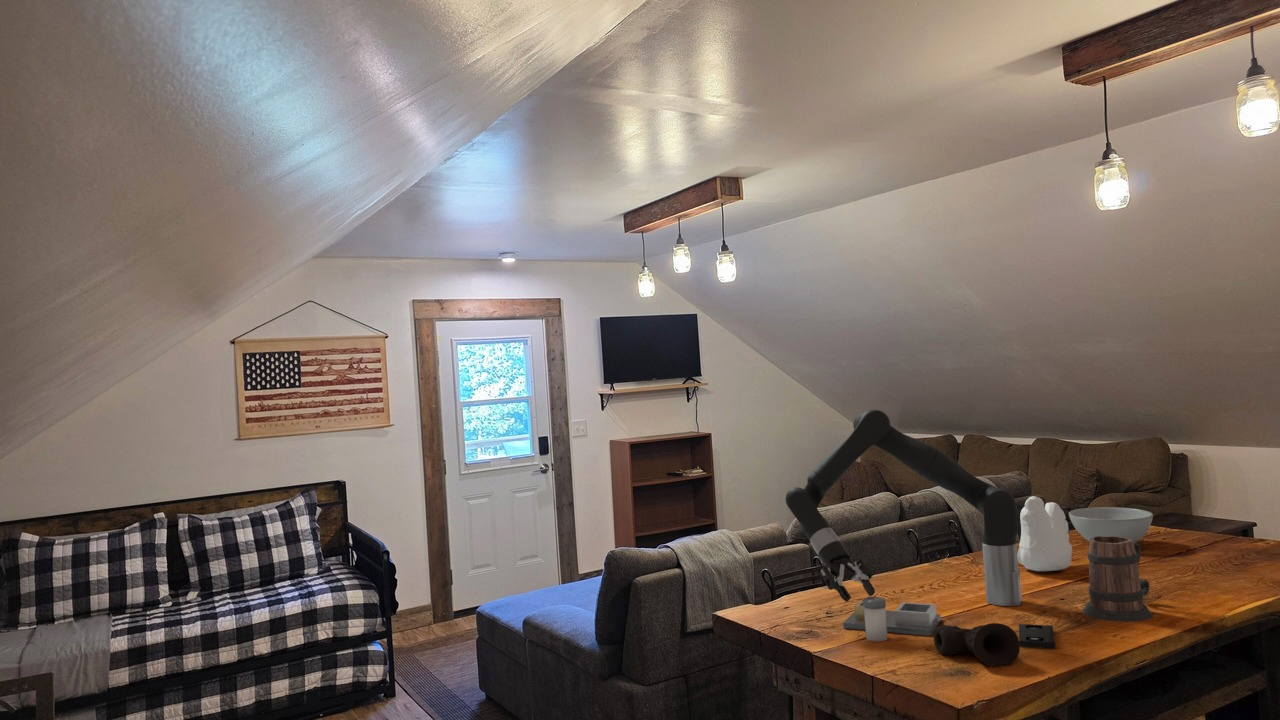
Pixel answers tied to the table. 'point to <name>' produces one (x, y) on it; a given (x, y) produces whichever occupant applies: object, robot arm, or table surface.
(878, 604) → the grey and white cylinder
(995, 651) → the pipe
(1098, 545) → the tankard
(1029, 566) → the white figurine
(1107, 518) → the decorative bowl
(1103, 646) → the table surface
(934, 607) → the plate
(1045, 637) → the vhs tape
